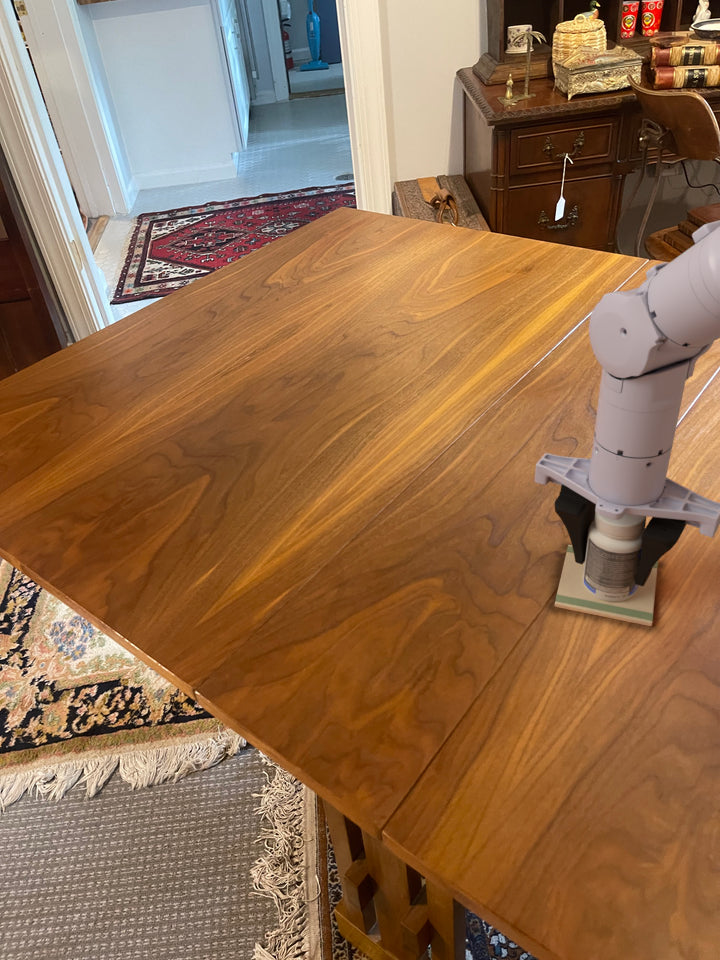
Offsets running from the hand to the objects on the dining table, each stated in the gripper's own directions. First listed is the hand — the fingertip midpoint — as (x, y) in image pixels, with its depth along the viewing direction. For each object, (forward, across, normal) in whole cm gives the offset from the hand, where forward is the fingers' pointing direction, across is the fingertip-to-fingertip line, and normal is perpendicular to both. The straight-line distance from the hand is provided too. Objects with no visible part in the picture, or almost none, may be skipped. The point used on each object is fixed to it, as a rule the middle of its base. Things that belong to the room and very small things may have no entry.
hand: (611, 567), depth 64 cm
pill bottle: (+2, 0, 0) cm, 2 cm away
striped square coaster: (+2, 0, 0) cm, 2 cm away
